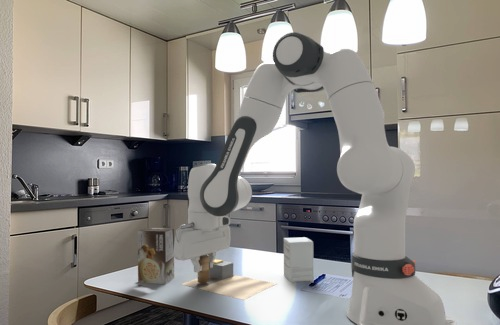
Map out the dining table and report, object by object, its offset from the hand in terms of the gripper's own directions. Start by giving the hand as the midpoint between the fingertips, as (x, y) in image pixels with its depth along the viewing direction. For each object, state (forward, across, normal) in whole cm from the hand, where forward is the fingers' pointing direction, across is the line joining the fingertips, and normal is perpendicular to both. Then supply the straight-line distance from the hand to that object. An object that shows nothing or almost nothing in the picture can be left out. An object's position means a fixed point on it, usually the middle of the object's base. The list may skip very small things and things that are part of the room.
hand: (203, 269), depth 106 cm
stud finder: (+4, +8, +1) cm, 9 cm away
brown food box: (+5, -5, +14) cm, 16 cm away
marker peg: (+3, 0, 0) cm, 3 cm away
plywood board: (+5, +4, -6) cm, 9 cm away
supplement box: (+5, +21, -19) cm, 29 cm away
